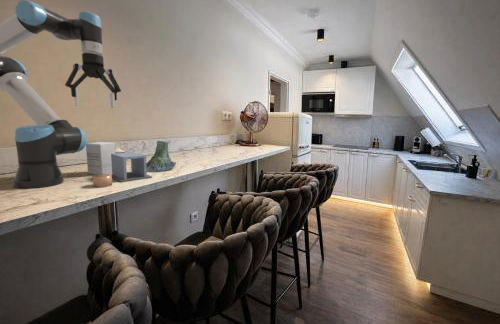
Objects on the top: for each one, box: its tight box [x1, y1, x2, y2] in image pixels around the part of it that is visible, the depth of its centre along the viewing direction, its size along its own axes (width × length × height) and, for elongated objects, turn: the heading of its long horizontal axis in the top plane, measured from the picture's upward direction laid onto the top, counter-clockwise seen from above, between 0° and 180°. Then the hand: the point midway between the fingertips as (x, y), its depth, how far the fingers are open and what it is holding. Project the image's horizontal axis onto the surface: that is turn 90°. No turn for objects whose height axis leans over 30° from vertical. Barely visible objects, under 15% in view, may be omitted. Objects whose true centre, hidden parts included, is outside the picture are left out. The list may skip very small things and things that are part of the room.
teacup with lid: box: [115, 145, 129, 162], centre depth 138 cm, size 12×9×12 cm
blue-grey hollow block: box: [111, 151, 148, 180], centre depth 115 cm, size 14×10×10 cm
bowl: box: [92, 173, 113, 188], centre depth 100 cm, size 7×7×4 cm
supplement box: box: [85, 141, 116, 175], centre depth 122 cm, size 9×9×15 cm
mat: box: [110, 171, 153, 183], centre depth 116 cm, size 16×14×1 cm
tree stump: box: [146, 140, 177, 173], centre depth 138 cm, size 18×20×18 cm
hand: (96, 106), depth 106 cm, fingers open, 13 cm apart
